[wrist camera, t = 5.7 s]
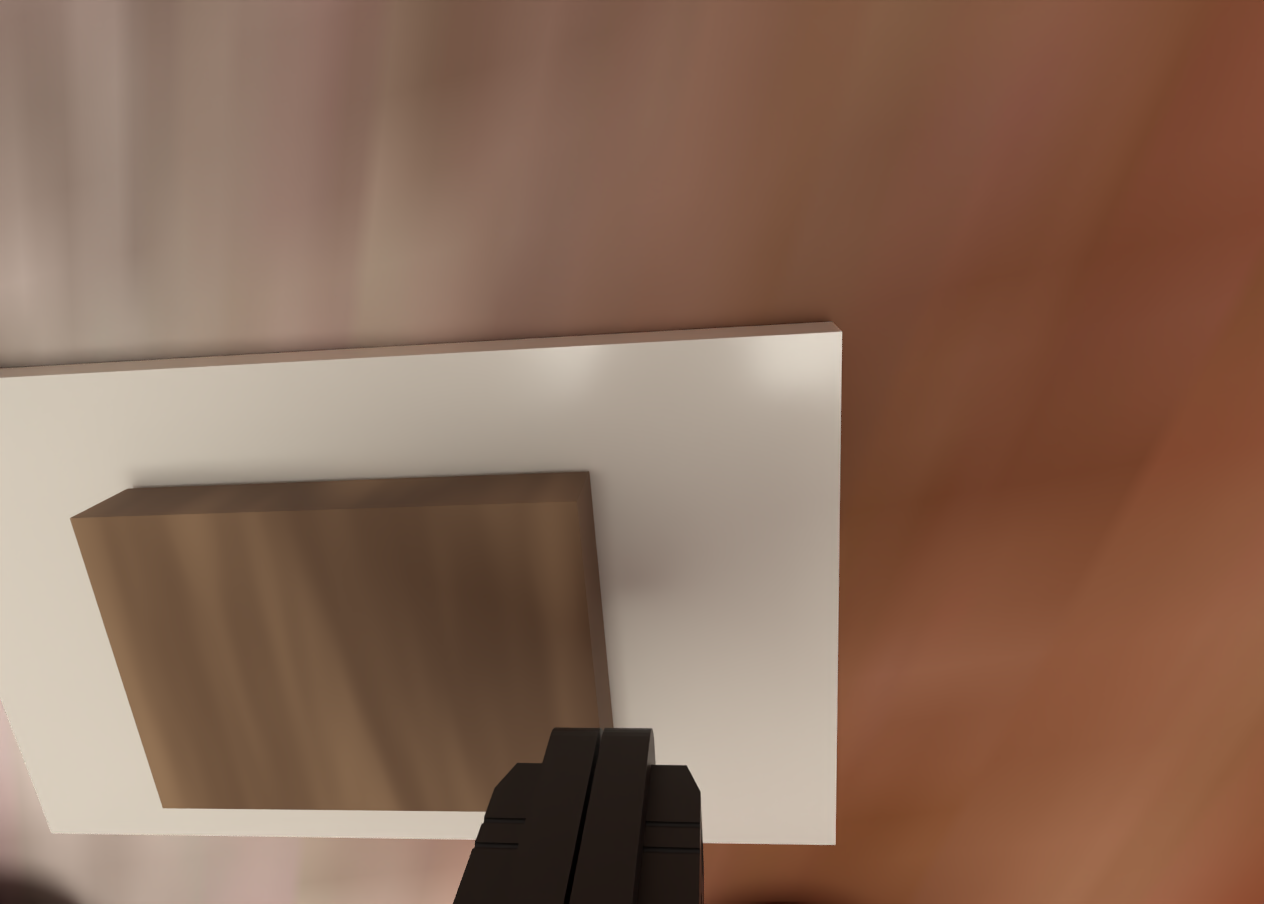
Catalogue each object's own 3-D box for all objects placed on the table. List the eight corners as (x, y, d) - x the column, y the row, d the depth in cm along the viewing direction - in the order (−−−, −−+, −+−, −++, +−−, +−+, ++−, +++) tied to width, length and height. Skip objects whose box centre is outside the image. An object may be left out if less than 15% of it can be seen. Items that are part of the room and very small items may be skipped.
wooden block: (576, 501, 14) (69, 518, 15) (608, 813, 16) (162, 808, 17) (590, 468, 16) (132, 486, 17) (617, 755, 18) (210, 754, 19)
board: (831, 321, 16) (841, 331, 14) (827, 806, 19) (835, 844, 18) (-67, 372, 18) (-120, 384, 17) (86, 799, 21) (51, 833, 20)
